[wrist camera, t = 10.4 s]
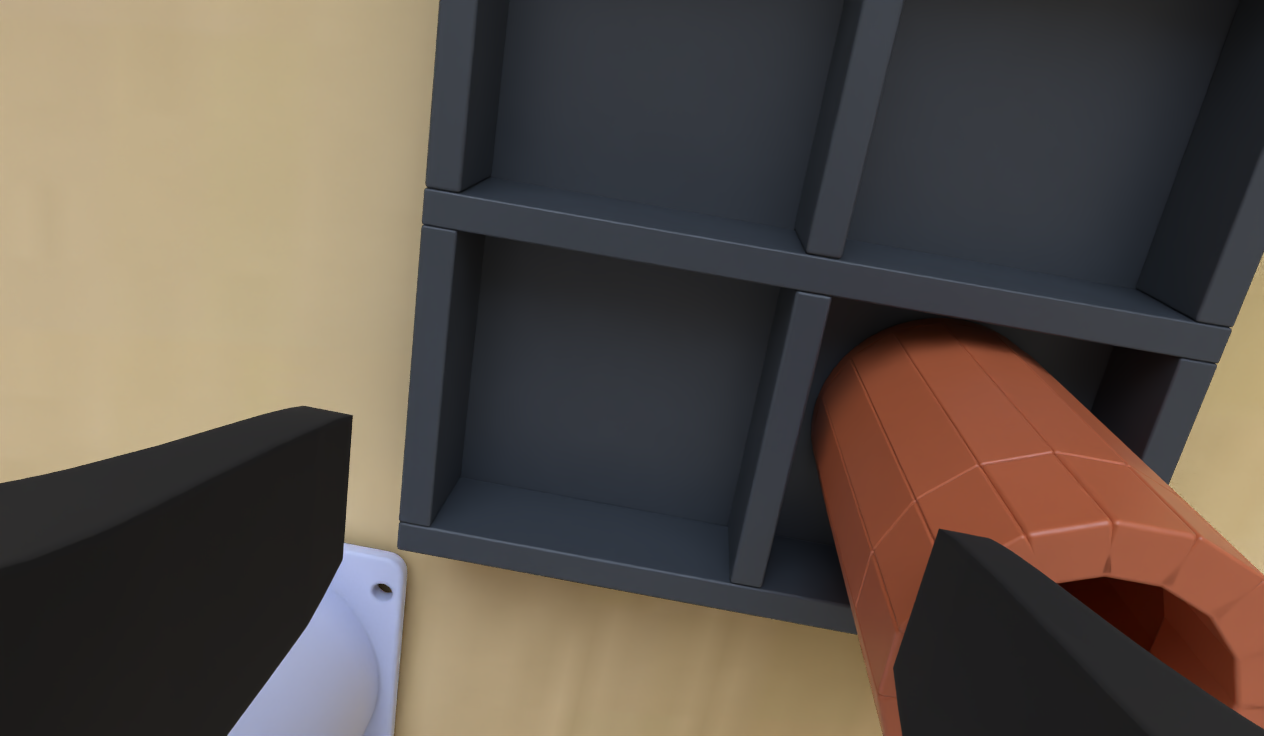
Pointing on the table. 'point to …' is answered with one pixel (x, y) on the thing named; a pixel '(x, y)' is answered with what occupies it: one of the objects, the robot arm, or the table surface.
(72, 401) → the table surface
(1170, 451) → the tray
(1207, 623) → the jar
